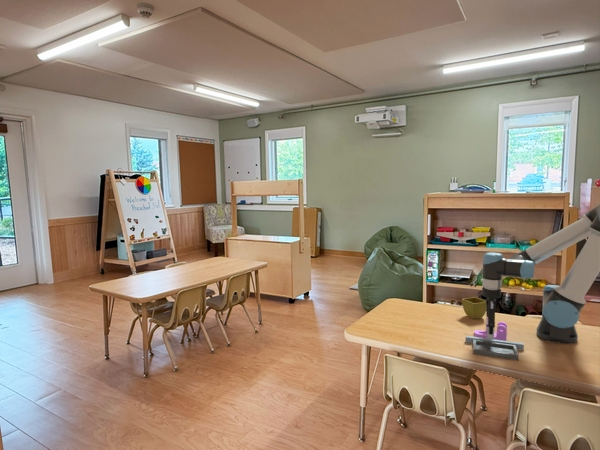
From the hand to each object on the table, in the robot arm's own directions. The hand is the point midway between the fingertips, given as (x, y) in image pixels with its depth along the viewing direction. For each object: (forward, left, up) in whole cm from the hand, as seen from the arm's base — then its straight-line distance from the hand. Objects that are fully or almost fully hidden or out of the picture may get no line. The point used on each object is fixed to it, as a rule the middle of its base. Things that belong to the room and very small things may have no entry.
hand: (489, 335), depth 171 cm
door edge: (-1, +10, 0) cm, 10 cm away
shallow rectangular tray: (-1, +16, 0) cm, 16 cm away
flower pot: (+6, -23, 0) cm, 24 cm away
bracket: (0, 0, -1) cm, 1 cm away
